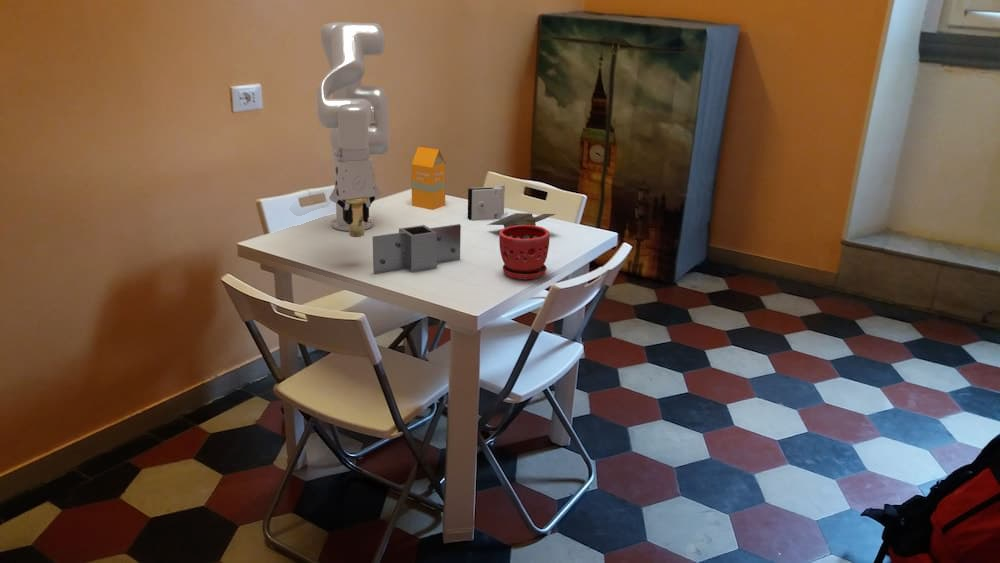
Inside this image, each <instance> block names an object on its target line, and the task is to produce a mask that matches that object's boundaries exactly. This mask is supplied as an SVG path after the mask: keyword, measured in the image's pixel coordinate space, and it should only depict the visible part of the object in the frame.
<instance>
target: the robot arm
mask: <svg viewBox="0 0 1000 563" xmlns="http://www.w3.org/2000/svg"><path fill="white" fill-rule="evenodd" d="M385 38H386V37H385V33H384V30H383V28H382V26H381V25H380V24H379V23H376V22H373V23H372V22H351V21H350V22H348V21H347V22H346V21H338V22H337V21H336V22H330V23H329V22H328V23H326V24H323V26H322V27H321V28H320V42H321V46H322V49H323V52H324V55H325V57H326V60H327V62H328V64H329V67H330V70H329V71H327V73H326V74H325V75H324V76H323V77H322V79H321V80H320V83H319V85H318V87H317V92H316V106H317V109H316V110H317V118H318V122H319V123H320V125H321V126H322V127H324V128H326V129H330V132H329V142H330V145H331V147H330V148H331V152H332V158H333V167H334V168H333V169H334V170H333V171H334V189H333V190H332V192H331V194H330V196H329V197H328V198H329V200H330V201H331V202H333V203H335V209H336V212H335V213H336V219H333V220H332V221H331V227H332V229H333V228H334V229H335V230H338V231H343V232H344V231H345V232H349V225H351V210H350V209H349V204H348V203H347V201H346V200H352V199H359V198H368V202H366V203H363V205H364V231H365V230H368V229H370V228H372V227H373V225H374V221H373V220H372V219H371V218H370V207H371V206H372V203H374V201H375V200H376V199H377V198H378V197H379V196H381V194H382V192H381V190H380V189H379V188H378V186H377V178H376V170H375V165H374V161H373V158H372V157H370V156H383V155H386V154H387V153H388V151H389V148H390V123H389V104H388V103H389V102H388V96H387V93H386V91H385V89H384V88H382V87H381V86H379V85H377V86H376V85H363V84H362V79H363V77H364V76H365V73H366V68H365V60H364V59H365V57H364V56H382V54H384V52H385V47H386V46H385V45H386V39H385ZM331 95H332V98H329V97H330V96H331ZM343 200H345V202H343Z"/></svg>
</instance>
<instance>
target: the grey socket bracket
mask: <svg viewBox="0 0 1000 563" xmlns="http://www.w3.org/2000/svg"><path fill="white" fill-rule="evenodd" d="M461 228H462V226H461V224H460V223H457V224H450V225H443V226H438V227H436V226H435V227H431V228H430V227H429V226H427V225H425V224H422V225H421V224H420V225H415V226H407V227H400V228H398V232H395V233H388V234H381V235H374V236H372V262H373V263H372V265H373V266H372V268H373V269H372V270H373V274H374V275H376V274H382V273H387V272H394V271H399V270H405V269H406V270H407V271H409V272H410V273H416V272H417V273H418V272H421V271H427V270H429V271H430V270H433V269H438V264H441V263H442V264H443V263H446V262H453V261H458V260H461V234H462V233H461Z"/></svg>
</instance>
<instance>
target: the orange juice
mask: <svg viewBox="0 0 1000 563" xmlns="http://www.w3.org/2000/svg"><path fill="white" fill-rule="evenodd" d="M440 150H441V149H440V148H434V147H428V146H423V145H418V146H417V148H416V152H415V154H414V158H413V159H412V163H411V164H410V165H411V166H410V167H411V185H410V186H411V206H412V207H417V208H421V209H427V210H431V211H433V210H436V209H439V208H441V207H444V206H446V187H447V186H446V184H447V183H446V172H447V171H446V166H447V165H446V161H445V159H444V157H443V155H442V152H441V151H440Z"/></svg>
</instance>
